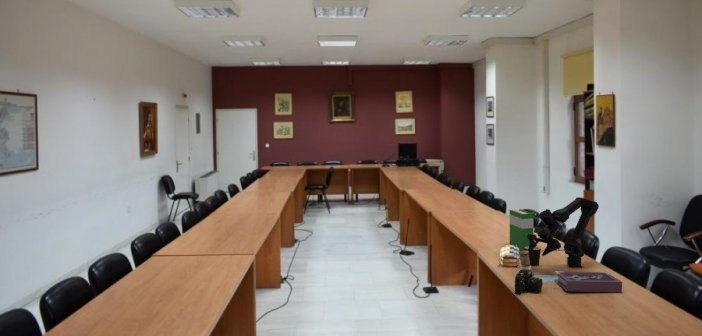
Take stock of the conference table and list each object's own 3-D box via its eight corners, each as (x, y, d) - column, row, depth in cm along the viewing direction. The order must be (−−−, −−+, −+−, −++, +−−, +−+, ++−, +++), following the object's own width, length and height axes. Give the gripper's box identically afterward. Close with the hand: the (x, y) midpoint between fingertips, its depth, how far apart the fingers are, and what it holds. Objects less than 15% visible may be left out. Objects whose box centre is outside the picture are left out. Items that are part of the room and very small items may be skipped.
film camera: (542, 297, 231) (542, 276, 231) (514, 295, 236) (514, 274, 235) (542, 285, 248) (542, 265, 247) (515, 284, 252) (515, 264, 252)
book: (605, 281, 251) (606, 271, 251) (622, 292, 235) (622, 281, 235) (553, 280, 252) (554, 271, 252) (566, 291, 236) (567, 280, 235)
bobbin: (533, 272, 267) (529, 249, 266) (535, 276, 260) (531, 252, 260) (519, 274, 268) (515, 251, 268) (521, 277, 262) (517, 254, 261)
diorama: (519, 269, 278) (518, 246, 277) (499, 268, 281) (499, 245, 280) (519, 258, 301) (518, 236, 300) (501, 257, 305) (500, 236, 304)
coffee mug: (542, 267, 279) (542, 249, 278) (525, 267, 281) (525, 249, 280) (538, 262, 290) (538, 245, 290) (523, 261, 292) (522, 244, 291)
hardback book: (509, 246, 331) (509, 209, 329) (520, 245, 332) (520, 209, 330) (522, 252, 314) (521, 214, 312) (533, 251, 315) (533, 213, 313)
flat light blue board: (559, 277, 261) (559, 275, 261) (565, 285, 247) (565, 283, 247) (531, 276, 264) (531, 274, 264) (535, 284, 250) (535, 283, 250)
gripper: (529, 218, 275) (514, 241, 270) (557, 223, 258) (542, 247, 254) (539, 231, 279) (524, 253, 275) (568, 237, 263) (553, 261, 258)
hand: (535, 253), depth 265 cm, fingers open, 9 cm apart
